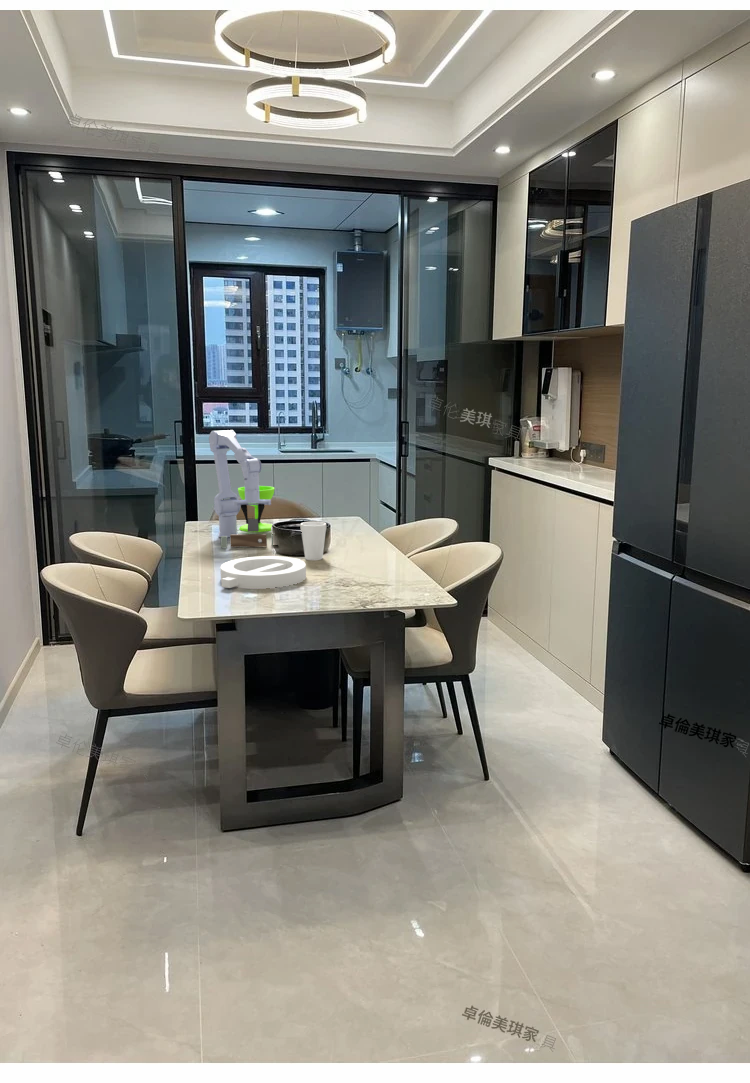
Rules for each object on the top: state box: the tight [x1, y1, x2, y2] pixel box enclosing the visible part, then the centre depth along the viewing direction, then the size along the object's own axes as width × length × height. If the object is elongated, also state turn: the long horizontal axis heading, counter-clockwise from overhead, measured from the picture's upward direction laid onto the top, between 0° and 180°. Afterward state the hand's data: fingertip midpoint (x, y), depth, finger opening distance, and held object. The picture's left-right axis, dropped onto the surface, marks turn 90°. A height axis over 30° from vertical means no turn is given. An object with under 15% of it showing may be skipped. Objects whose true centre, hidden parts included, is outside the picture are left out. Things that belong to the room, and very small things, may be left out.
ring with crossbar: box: [219, 555, 307, 590], centre depth 264 cm, size 28×28×5 cm
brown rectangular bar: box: [229, 533, 268, 548], centre depth 311 cm, size 3×14×5 cm, turn 94°
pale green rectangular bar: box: [220, 533, 274, 549], centre depth 313 cm, size 2×22×4 cm, turn 102°
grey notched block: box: [247, 518, 259, 533], centre depth 319 cm, size 8×4×5 cm, turn 11°
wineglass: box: [237, 485, 275, 533], centre depth 349 cm, size 16×16×18 cm
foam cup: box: [300, 521, 327, 561], centre depth 292 cm, size 10×9×13 cm
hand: (253, 523), depth 317 cm, fingers closed on grey notched block, 4 cm apart
